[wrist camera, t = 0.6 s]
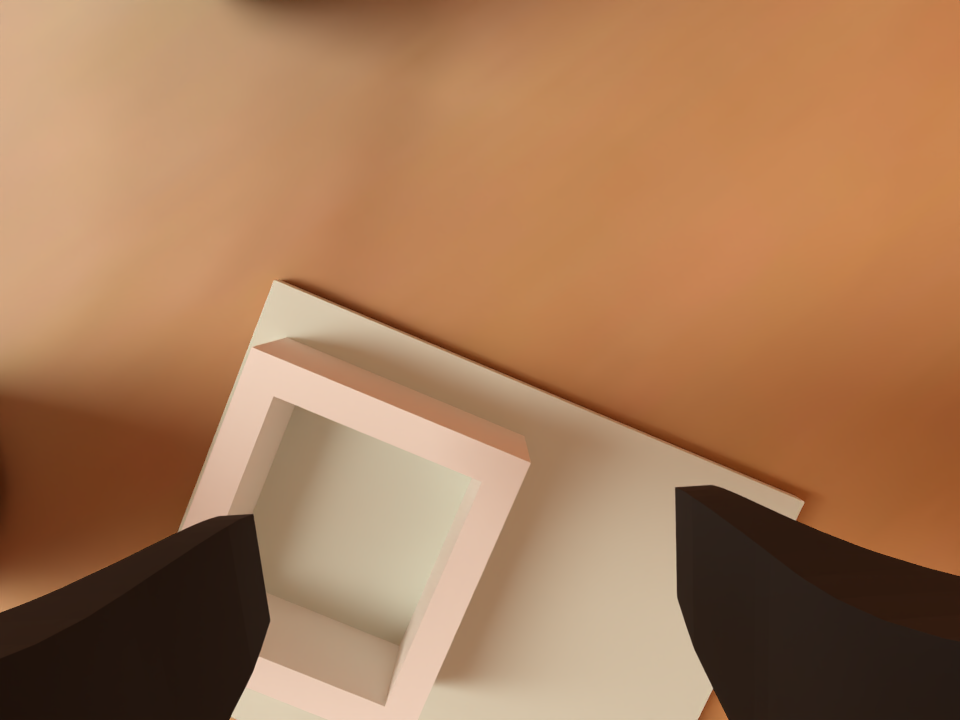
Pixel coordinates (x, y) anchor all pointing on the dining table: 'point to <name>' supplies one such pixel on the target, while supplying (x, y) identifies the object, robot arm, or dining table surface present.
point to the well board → (449, 534)
